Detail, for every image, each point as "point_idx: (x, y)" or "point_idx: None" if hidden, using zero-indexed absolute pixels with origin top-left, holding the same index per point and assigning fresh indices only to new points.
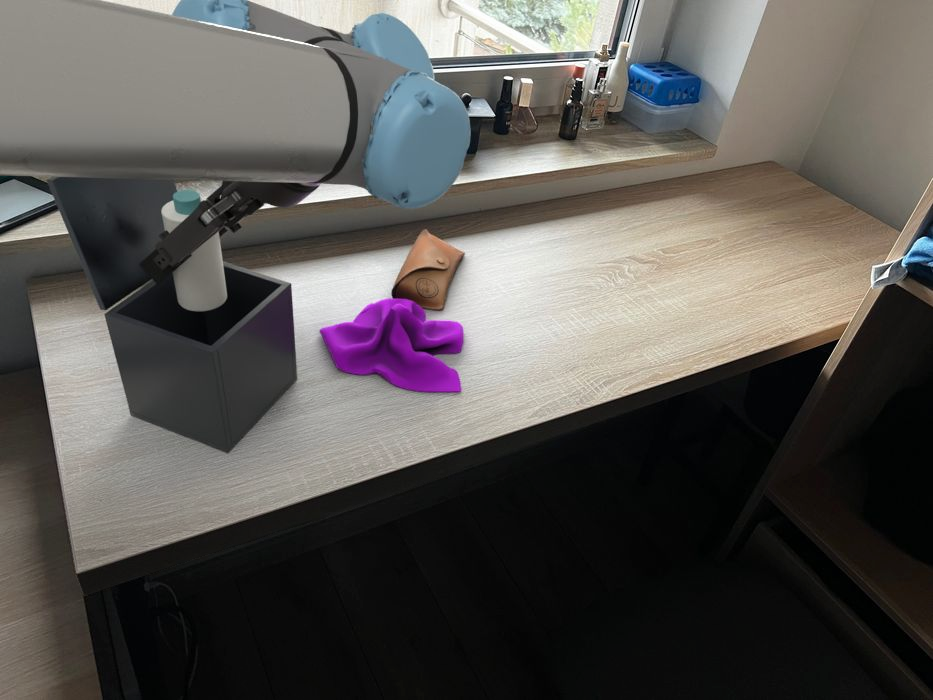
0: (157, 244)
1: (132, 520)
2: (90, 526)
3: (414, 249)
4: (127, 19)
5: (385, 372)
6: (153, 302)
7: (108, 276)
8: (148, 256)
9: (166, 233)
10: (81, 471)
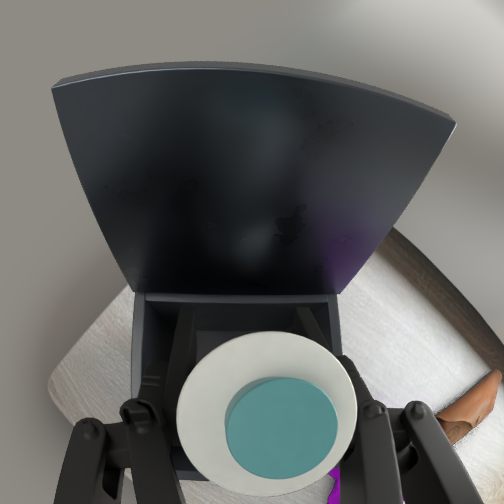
0: (71, 435)
1: (79, 396)
2: (65, 370)
3: (482, 391)
4: None
5: (337, 490)
6: (220, 309)
7: (149, 269)
8: (176, 331)
9: (145, 416)
10: (100, 329)
